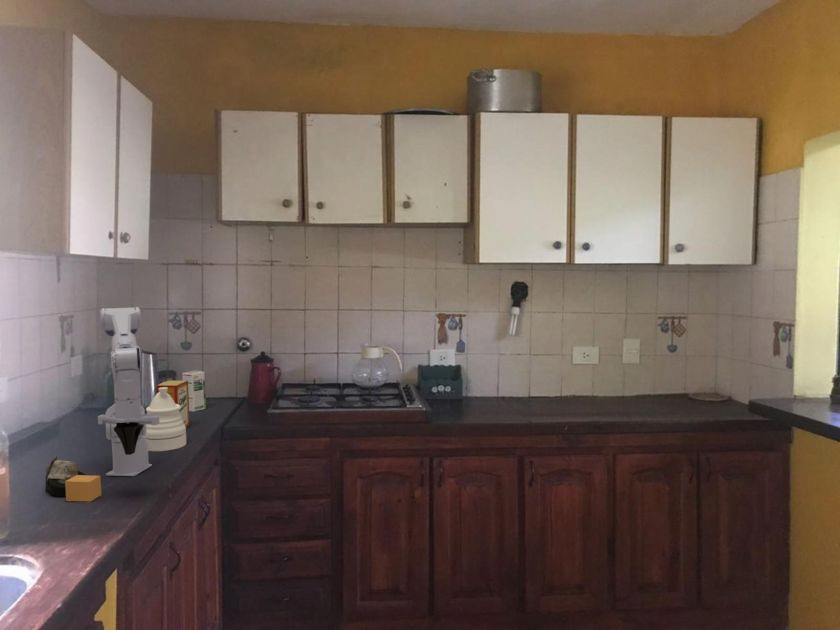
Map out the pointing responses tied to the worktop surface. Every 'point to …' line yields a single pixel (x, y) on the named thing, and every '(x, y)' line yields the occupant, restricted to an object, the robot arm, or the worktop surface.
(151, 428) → the honey pot
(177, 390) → the baking soda box
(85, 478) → the block
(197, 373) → the syrup box
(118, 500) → the worktop surface
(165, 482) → the worktop surface
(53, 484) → the caster wheel
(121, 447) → the robot arm
